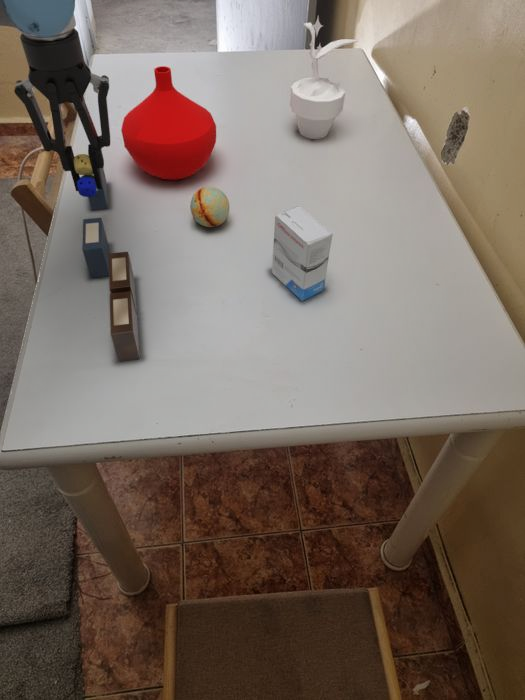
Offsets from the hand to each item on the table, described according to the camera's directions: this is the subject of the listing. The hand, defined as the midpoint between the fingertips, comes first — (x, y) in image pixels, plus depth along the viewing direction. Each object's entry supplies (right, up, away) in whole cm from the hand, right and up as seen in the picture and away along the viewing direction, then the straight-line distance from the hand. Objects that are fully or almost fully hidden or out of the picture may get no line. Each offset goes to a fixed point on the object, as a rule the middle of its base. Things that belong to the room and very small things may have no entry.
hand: (89, 185), depth 87 cm
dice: (0, -1, +1) cm, 1 cm away
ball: (+20, -4, +9) cm, 22 cm away
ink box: (+35, -17, -1) cm, 39 cm away
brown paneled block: (+8, -23, -7) cm, 25 cm away
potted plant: (+41, +21, +31) cm, 56 cm away
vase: (+11, +10, +20) cm, 25 cm away
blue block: (0, -6, +7) cm, 9 cm away
